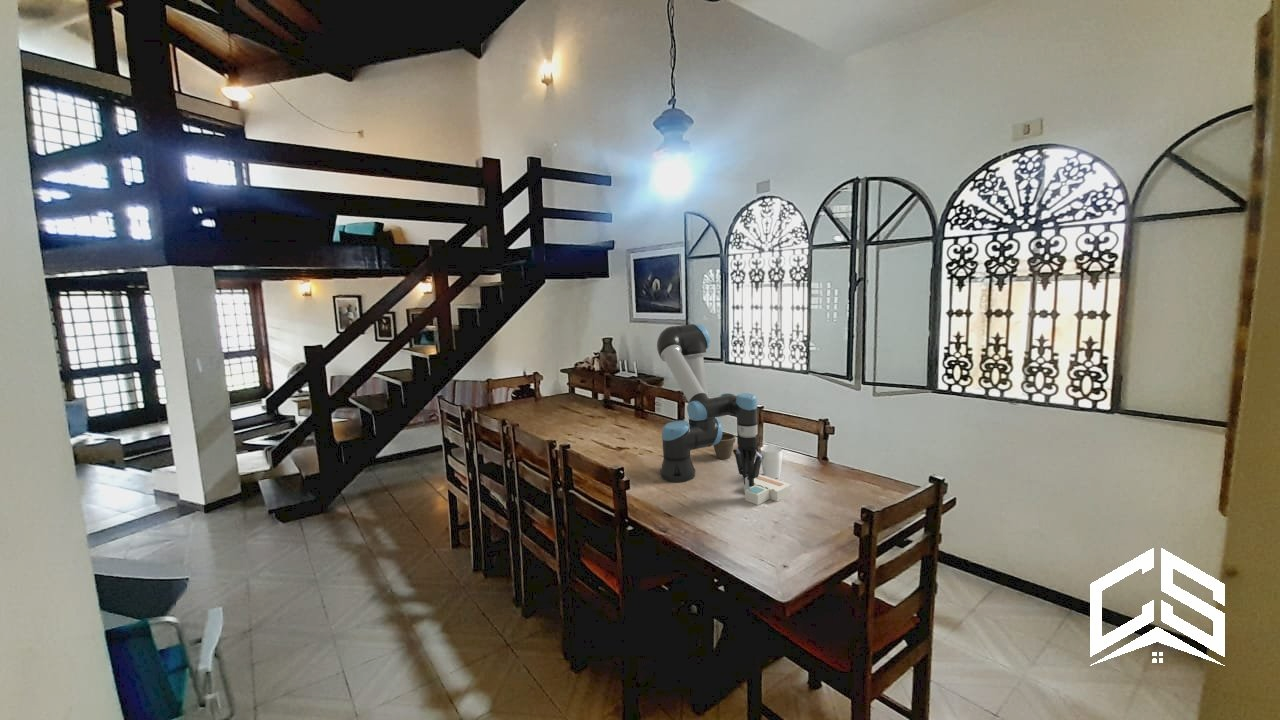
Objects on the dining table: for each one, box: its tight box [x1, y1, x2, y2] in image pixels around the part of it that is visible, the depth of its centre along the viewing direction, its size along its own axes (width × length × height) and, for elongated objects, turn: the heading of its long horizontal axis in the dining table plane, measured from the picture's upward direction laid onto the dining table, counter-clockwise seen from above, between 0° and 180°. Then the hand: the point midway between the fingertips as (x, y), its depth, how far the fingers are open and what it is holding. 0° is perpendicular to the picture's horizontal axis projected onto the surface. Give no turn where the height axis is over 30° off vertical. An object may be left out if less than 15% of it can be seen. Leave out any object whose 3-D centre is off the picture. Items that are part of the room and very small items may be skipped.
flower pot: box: [713, 432, 736, 460], centre depth 246 cm, size 12×11×10 cm
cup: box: [759, 445, 783, 480], centre depth 220 cm, size 9×9×12 cm
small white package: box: [743, 473, 792, 502], centre depth 206 cm, size 16×9×4 cm, turn 40°
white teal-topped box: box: [744, 485, 770, 506], centre depth 199 cm, size 6×7×4 cm
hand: (749, 493), depth 202 cm, fingers closed
